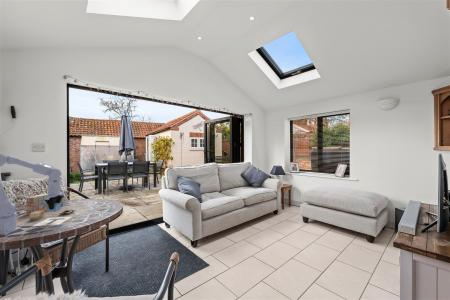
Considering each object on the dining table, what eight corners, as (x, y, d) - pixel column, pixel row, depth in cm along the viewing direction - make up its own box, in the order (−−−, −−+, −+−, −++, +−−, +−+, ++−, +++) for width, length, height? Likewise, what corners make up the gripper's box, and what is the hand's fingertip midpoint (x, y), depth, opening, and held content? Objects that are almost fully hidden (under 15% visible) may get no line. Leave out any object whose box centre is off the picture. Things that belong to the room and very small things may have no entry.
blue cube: (56, 211, 121) (56, 204, 121) (48, 212, 120) (48, 205, 120) (60, 209, 125) (60, 202, 125) (52, 209, 124) (52, 203, 124)
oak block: (38, 220, 123) (38, 213, 123) (29, 221, 122) (29, 213, 122) (44, 218, 128) (44, 210, 128) (35, 218, 127) (35, 211, 127)
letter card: (58, 225, 116) (58, 224, 116) (31, 227, 113) (31, 226, 113) (72, 217, 129) (72, 216, 129) (48, 218, 127) (48, 217, 127)
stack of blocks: (56, 205, 156) (56, 190, 156) (63, 205, 156) (63, 191, 156) (26, 214, 135) (26, 197, 135) (33, 214, 134) (33, 197, 134)
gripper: (53, 189, 116) (53, 211, 116) (68, 184, 130) (68, 204, 130) (40, 189, 115) (40, 212, 115) (56, 185, 129) (56, 205, 129)
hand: (54, 208), depth 123 cm, fingers closed on blue cube, 4 cm apart
